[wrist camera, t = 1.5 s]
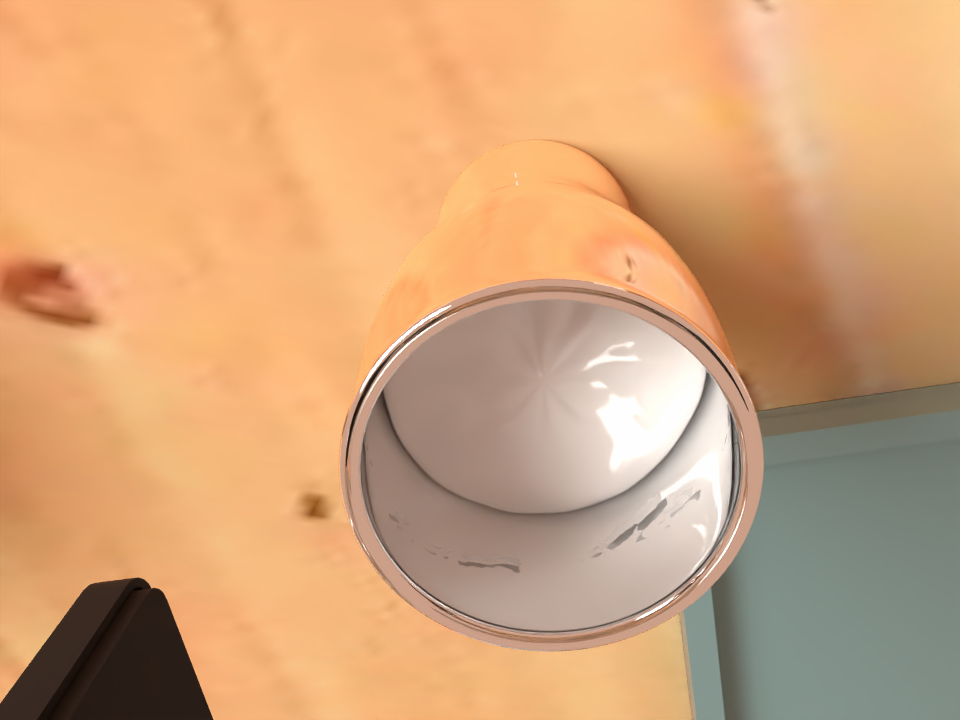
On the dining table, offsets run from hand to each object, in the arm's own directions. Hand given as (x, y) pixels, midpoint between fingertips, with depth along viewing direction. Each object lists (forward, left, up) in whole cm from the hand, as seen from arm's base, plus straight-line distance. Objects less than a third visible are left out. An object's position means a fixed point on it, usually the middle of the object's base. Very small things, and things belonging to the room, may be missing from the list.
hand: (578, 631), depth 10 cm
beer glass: (0, 0, -19) cm, 19 cm away
